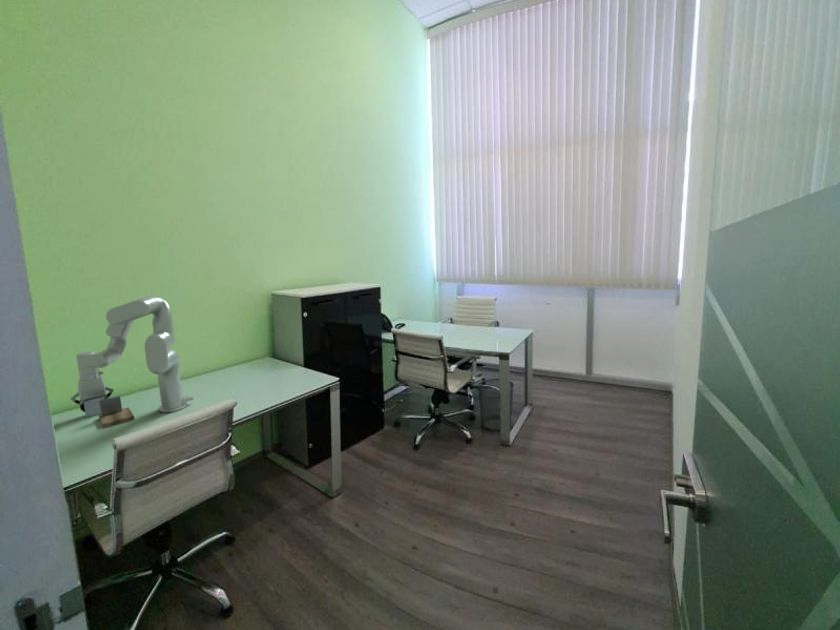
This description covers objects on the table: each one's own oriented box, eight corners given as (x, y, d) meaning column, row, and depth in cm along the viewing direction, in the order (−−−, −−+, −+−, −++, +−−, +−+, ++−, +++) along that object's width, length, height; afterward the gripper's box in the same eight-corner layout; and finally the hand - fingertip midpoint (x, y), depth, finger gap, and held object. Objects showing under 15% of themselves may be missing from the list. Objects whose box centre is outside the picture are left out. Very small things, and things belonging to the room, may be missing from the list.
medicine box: (104, 409, 197) (102, 394, 195) (106, 412, 194) (104, 396, 192) (85, 415, 191) (82, 399, 189) (86, 417, 188) (83, 401, 186)
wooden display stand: (128, 410, 196) (126, 392, 194) (134, 419, 186) (131, 400, 184) (99, 418, 187) (95, 399, 185) (103, 428, 178) (99, 408, 176)
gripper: (110, 370, 197) (115, 401, 201) (65, 378, 185) (71, 411, 188) (113, 373, 192) (117, 405, 196) (66, 382, 180) (72, 416, 183)
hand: (95, 408), depth 192 cm, fingers closed on medicine box, 8 cm apart
